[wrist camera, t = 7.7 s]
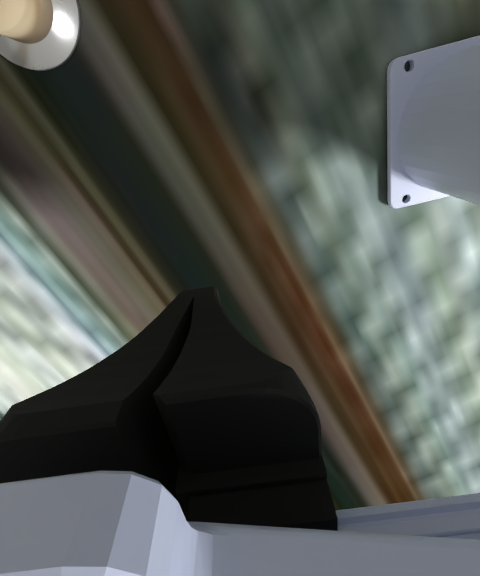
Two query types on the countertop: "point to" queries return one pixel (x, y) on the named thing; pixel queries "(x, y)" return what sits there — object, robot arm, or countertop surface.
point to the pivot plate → (48, 40)
